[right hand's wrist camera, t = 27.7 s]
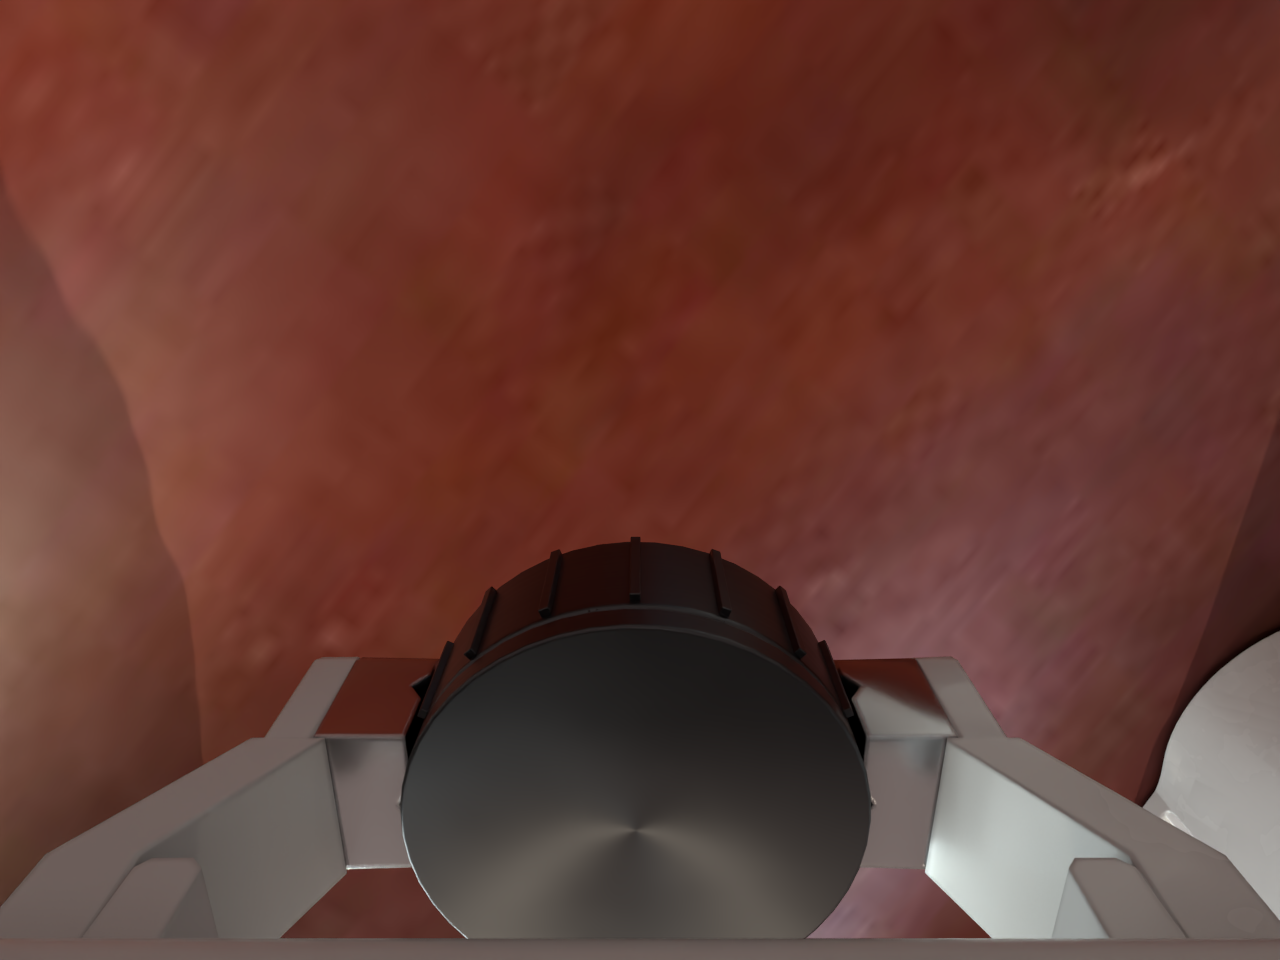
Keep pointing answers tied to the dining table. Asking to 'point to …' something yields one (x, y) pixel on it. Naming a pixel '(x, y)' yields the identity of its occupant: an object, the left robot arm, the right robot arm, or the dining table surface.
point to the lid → (636, 757)
